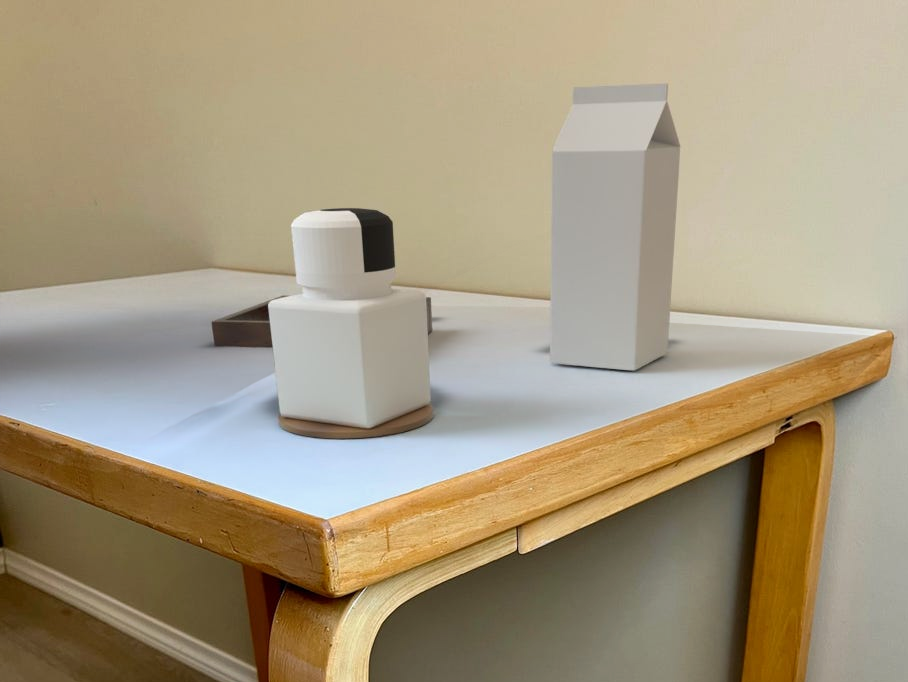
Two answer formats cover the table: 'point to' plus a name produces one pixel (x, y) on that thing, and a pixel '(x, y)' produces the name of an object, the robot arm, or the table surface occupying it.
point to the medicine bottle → (349, 325)
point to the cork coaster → (342, 432)
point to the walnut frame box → (258, 327)
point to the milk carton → (613, 227)
